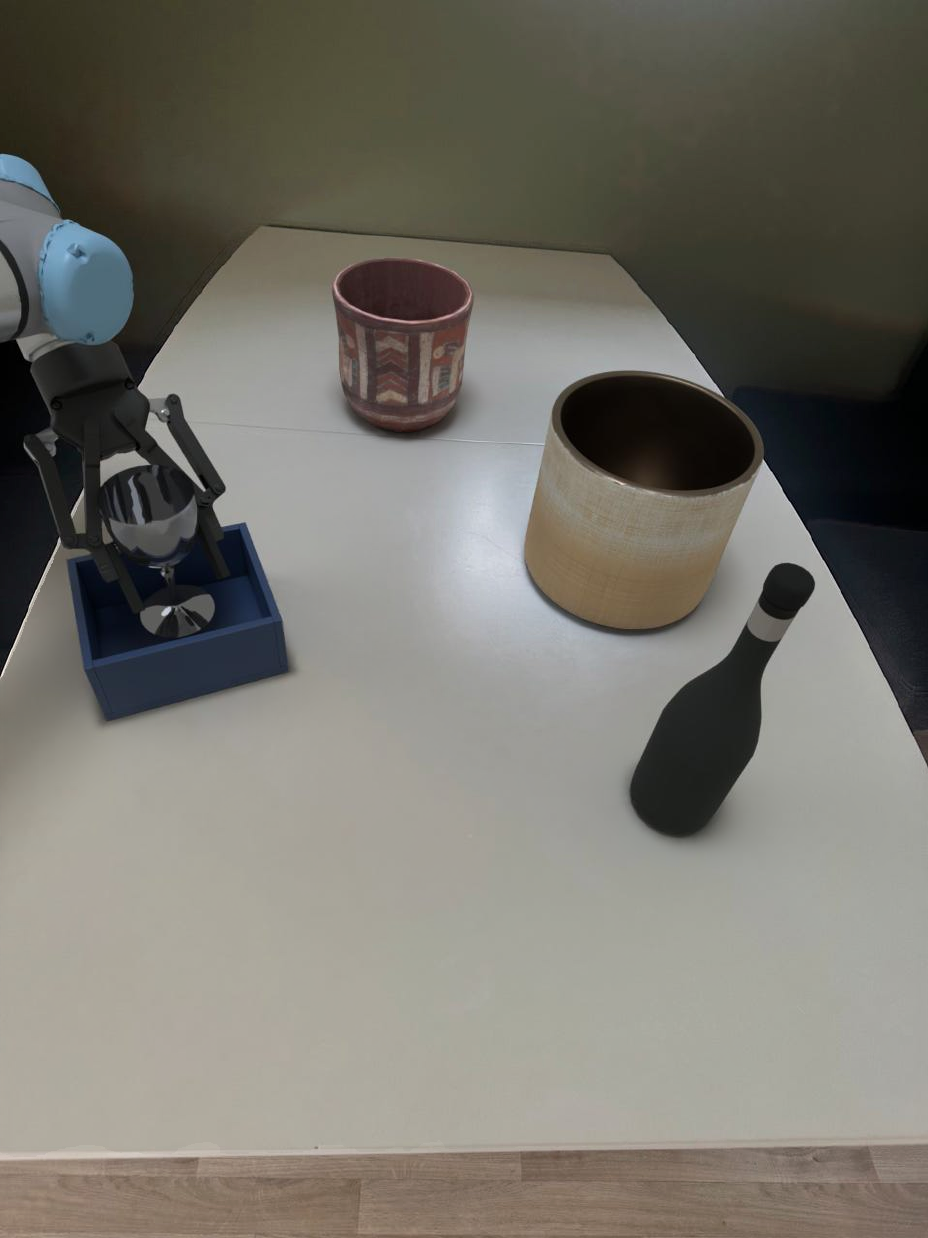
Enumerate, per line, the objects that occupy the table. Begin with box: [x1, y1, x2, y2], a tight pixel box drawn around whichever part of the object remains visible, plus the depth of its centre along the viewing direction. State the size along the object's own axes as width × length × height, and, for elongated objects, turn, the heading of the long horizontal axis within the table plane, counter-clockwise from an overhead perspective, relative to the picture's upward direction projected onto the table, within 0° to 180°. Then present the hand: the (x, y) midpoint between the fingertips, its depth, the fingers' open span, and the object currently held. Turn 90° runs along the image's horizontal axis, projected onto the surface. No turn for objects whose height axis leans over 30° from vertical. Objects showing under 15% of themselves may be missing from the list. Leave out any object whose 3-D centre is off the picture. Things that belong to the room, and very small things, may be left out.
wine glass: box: [97, 464, 215, 638], centre depth 74 cm, size 8×8×15 cm
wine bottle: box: [630, 562, 816, 835], centre depth 64 cm, size 8×8×30 cm
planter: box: [524, 369, 765, 630], centre depth 88 cm, size 22×22×20 cm
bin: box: [65, 521, 290, 722], centre depth 80 cm, size 18×15×8 cm
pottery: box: [331, 257, 475, 433], centre depth 107 cm, size 18×18×18 cm
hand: (182, 594), depth 73 cm, fingers closed on wine glass, 7 cm apart
